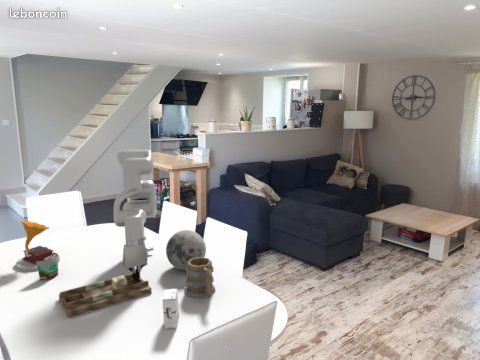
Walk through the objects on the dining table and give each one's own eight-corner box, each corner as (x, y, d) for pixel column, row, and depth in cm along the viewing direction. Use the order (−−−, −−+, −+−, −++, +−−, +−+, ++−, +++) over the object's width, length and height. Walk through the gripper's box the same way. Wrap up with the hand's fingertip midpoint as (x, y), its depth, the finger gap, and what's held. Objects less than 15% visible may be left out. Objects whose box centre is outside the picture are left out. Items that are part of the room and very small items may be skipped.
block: (123, 283, 166) (122, 275, 165) (127, 287, 162) (126, 279, 161) (112, 286, 163) (111, 277, 162) (115, 290, 159) (115, 282, 158)
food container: (49, 282, 172) (47, 262, 170) (37, 281, 173) (35, 261, 171) (66, 271, 184) (64, 252, 182) (55, 270, 185) (53, 251, 183)
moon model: (185, 257, 202) (185, 222, 198) (214, 266, 190) (213, 229, 187) (158, 270, 186) (156, 232, 182) (187, 280, 174) (186, 240, 171)
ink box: (166, 316, 144) (165, 288, 142) (179, 316, 144) (178, 287, 142) (163, 329, 135) (162, 299, 133) (177, 328, 136) (176, 299, 134)
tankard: (182, 287, 168) (181, 256, 165) (208, 282, 173) (208, 252, 170) (195, 308, 150) (194, 274, 147) (224, 302, 155) (223, 269, 152)
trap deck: (136, 278, 177) (136, 269, 176) (151, 293, 162) (151, 283, 162) (59, 299, 157) (58, 289, 156) (68, 318, 142) (67, 307, 142)
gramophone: (29, 274, 180) (24, 226, 176) (8, 265, 191) (2, 219, 186) (68, 260, 197) (64, 216, 193) (46, 253, 208) (42, 210, 203)
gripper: (147, 235, 171) (148, 272, 174) (114, 242, 162) (117, 281, 165) (153, 240, 165) (155, 278, 168) (120, 247, 156) (123, 287, 160)
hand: (136, 279), depth 167 cm, fingers closed
